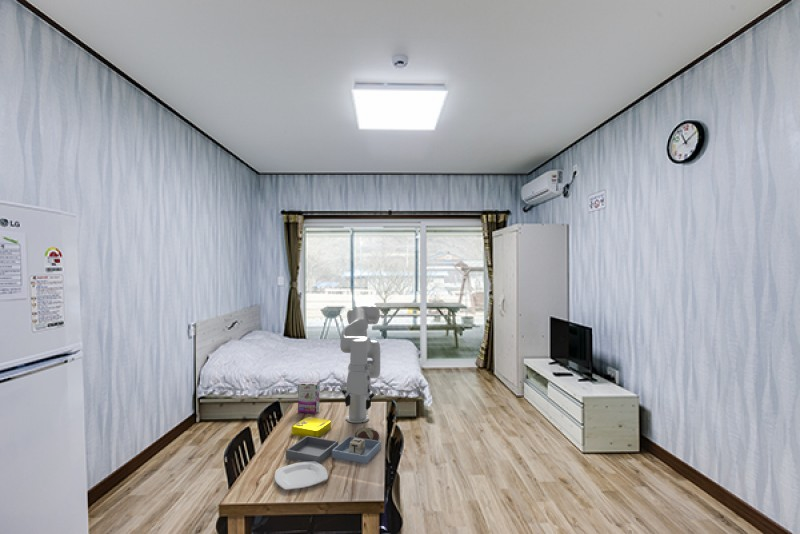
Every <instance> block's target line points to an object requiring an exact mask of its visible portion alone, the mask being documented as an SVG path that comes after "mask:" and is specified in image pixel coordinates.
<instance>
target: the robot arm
mask: <svg viewBox="0 0 800 534" xmlns="http://www.w3.org/2000/svg"><path fill="white" fill-rule="evenodd" d="M380 315H381V312H380V309H379V307H378V306H377V305H376V304H359V305H355V306H354V307H352V308H351V309H348V310H347V312H346V318H347V323H348V324H347V326H346V327H344V328H343V329H342V331H341V333H340V343H339V344H340V345H339V347H340V351H341V352H342V353H344V354H349V355H350V360H349V363H348V368H347V371H348V373H347V378H346V379H347V380H346V383H343V384H341V385H340V386H339V388H340V390H341V393H342V394H343V397H344V400H345V401H344V404H345V407H348V415H346V416H345V420H346V422H348V423H353V424H362V422H363V423H366V422H369V420H370V415H369V414H367V412H368V411H369V409H370V408H371V406H372V398H374V396H375V395H376V394H377V391H378V389H376V387H374V386H373V385H372V384H371V383H372V381H371V379H377V378H379V377H380V375H381V344H380V343H379V341H378V340H373V339H372V340H371V338H370V336H368V331H367V330H368V328H369V325H377V324H378V323H379V320H380ZM368 359H371V360H368ZM371 392H372V393H371Z"/></svg>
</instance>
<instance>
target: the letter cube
mask: <svg viewBox="0 0 800 534" xmlns="http://www.w3.org/2000/svg"><path fill="white" fill-rule="evenodd" d="M364 451H365V440H364V439H358V438H354V439H353V440H352V441H351V442H350V445H349V453H354V454H359V455H361V454H362V453H363V452H364Z"/></svg>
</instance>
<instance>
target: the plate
mask: <svg viewBox="0 0 800 534" xmlns="http://www.w3.org/2000/svg"><path fill="white" fill-rule="evenodd" d="M328 479H329V478H328V470H327V468H326V467H325V466H324V465H323V464H321V463H320V464H319V463H318V462H316V461H309V462H306V461H302V462H296V463H292V464H289V465H285V466H282V467H279V468H277V469H275V472H274V481H275V483H276V484H277V485H278V486H279V487H280V488H282V489H283V490H284V491H288V490H289V491H290V490H297V489H298V490H299V489H304V488H308V487H312V486H314V485H318V484H320V483H323V482H325V481H327V480H328Z"/></svg>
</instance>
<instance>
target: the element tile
mask: <svg viewBox="0 0 800 534" xmlns="http://www.w3.org/2000/svg"><path fill="white" fill-rule="evenodd" d="M331 429H332V421H331V420H330V419H326V418H325V419H323V418H319V417H313V416H307V417H305V418H303V419H301V420H299V421H297V422H296V423H294V424H293V425H292V426H291V435H292V436H296V437H300V438H301V437H302V438H305V437H306V436H311V437H316V438H320V436H321V437H322V436H324V435H325V434H326V433H328V432H330V431H331Z"/></svg>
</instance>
